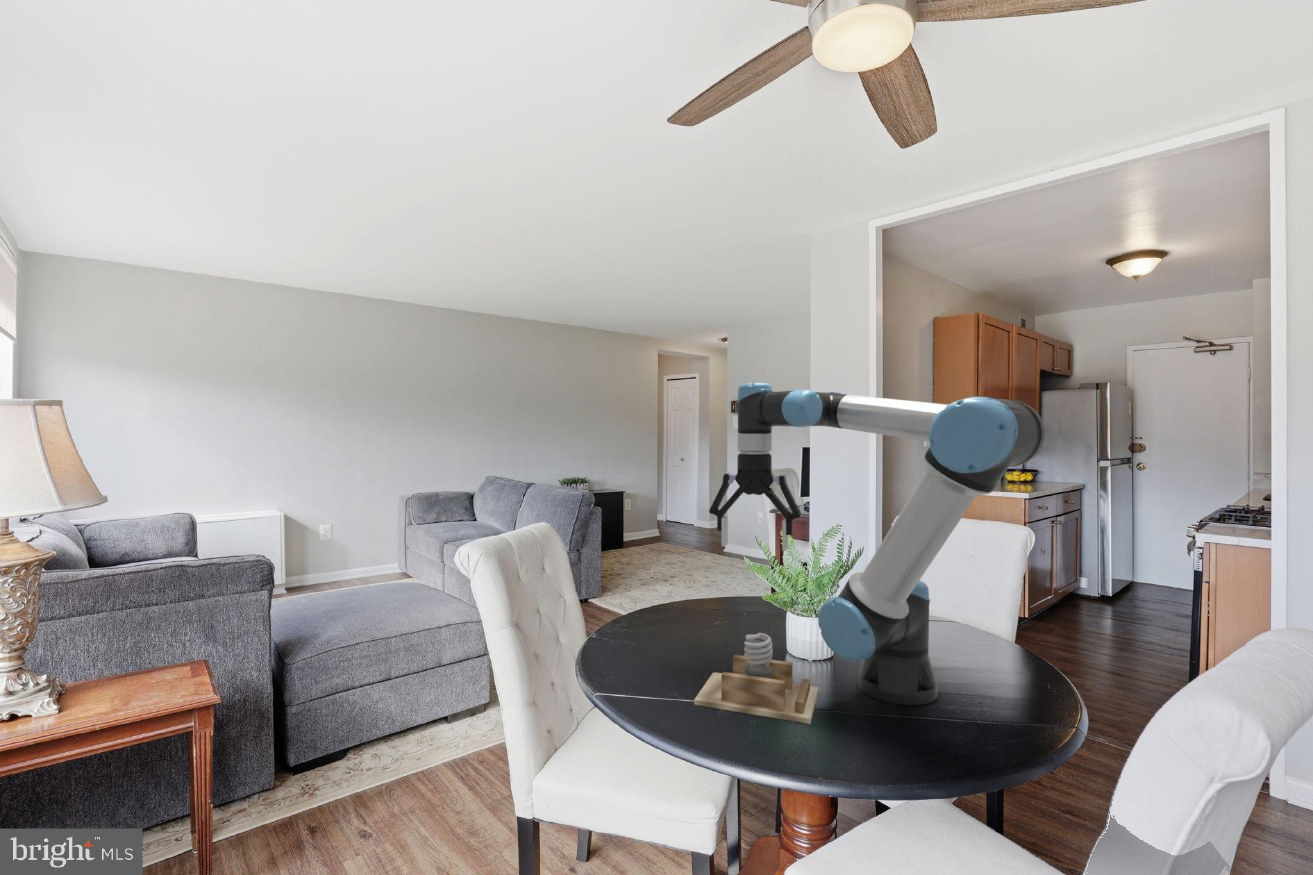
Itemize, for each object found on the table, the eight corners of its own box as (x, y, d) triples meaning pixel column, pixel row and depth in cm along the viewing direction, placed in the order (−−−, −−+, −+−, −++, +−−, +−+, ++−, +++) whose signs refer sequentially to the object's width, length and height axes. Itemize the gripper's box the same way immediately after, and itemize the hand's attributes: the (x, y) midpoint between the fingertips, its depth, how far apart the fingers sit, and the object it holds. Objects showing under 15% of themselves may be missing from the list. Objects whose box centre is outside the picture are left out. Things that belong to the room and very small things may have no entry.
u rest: (818, 692, 125) (818, 662, 125) (810, 723, 112) (810, 691, 112) (713, 676, 133) (713, 649, 132) (694, 704, 119) (694, 674, 119)
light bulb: (769, 687, 125) (769, 628, 125) (775, 699, 119) (775, 638, 119) (741, 687, 125) (741, 628, 124) (746, 700, 119) (746, 638, 119)
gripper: (813, 452, 137) (813, 548, 137) (705, 451, 145) (705, 540, 146) (809, 454, 130) (809, 554, 130) (696, 452, 138) (695, 546, 139)
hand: (754, 547), depth 138 cm, fingers open, 13 cm apart
